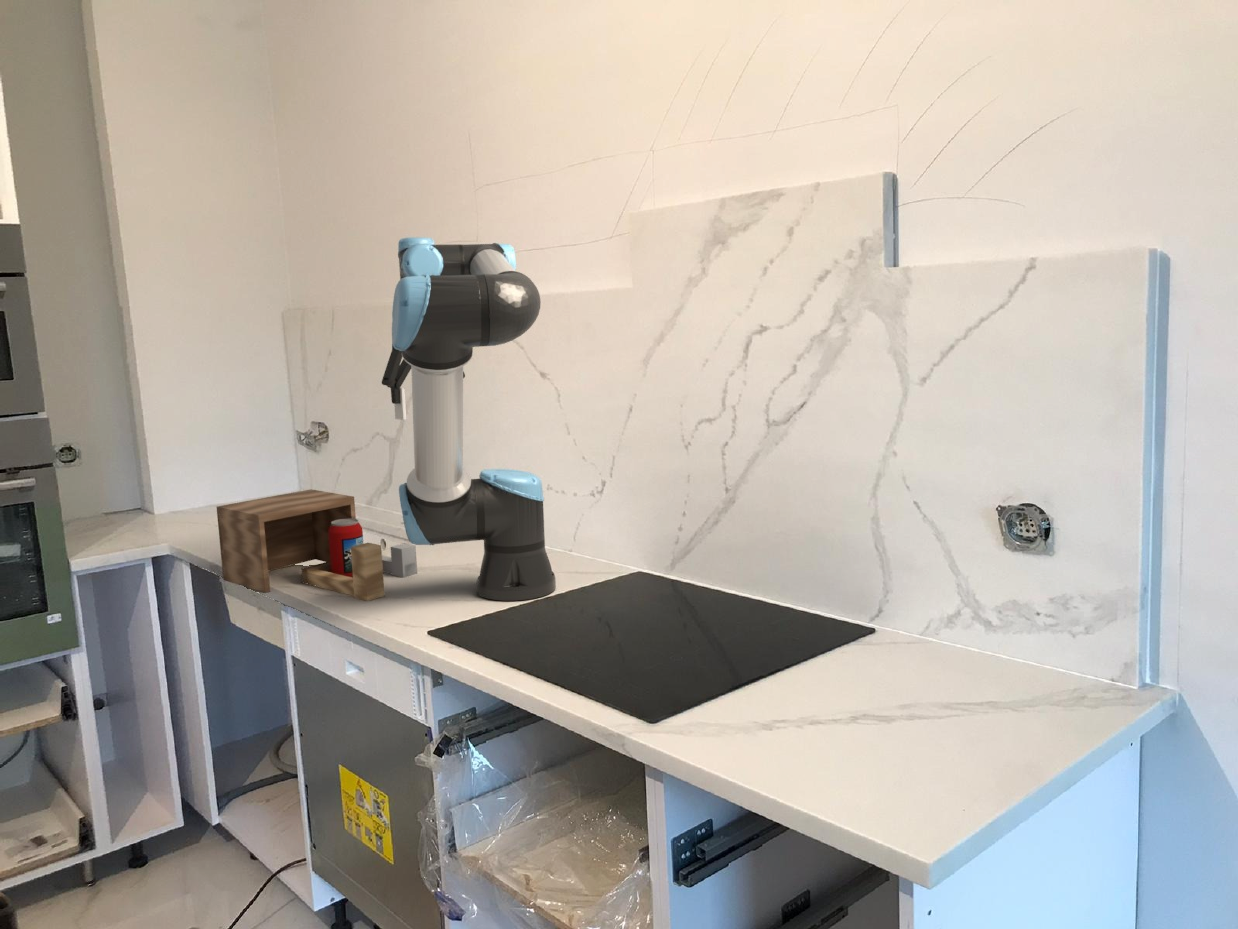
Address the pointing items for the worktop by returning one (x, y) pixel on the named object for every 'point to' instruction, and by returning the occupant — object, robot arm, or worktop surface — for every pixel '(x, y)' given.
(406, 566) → the grey hooked tool
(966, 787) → the worktop surface
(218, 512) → the shelf
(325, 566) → the crook tool
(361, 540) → the beverage can
